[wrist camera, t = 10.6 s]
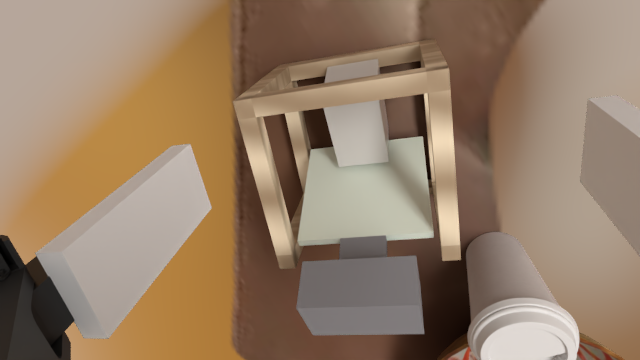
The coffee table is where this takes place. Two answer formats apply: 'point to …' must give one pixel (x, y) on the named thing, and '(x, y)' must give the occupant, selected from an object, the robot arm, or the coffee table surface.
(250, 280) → the coffee table surface
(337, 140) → the light gray block
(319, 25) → the coffee table surface
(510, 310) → the coffee cup
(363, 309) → the trapdoor
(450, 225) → the maple stand
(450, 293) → the coffee table surface
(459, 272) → the coffee table surface
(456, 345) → the bowl
